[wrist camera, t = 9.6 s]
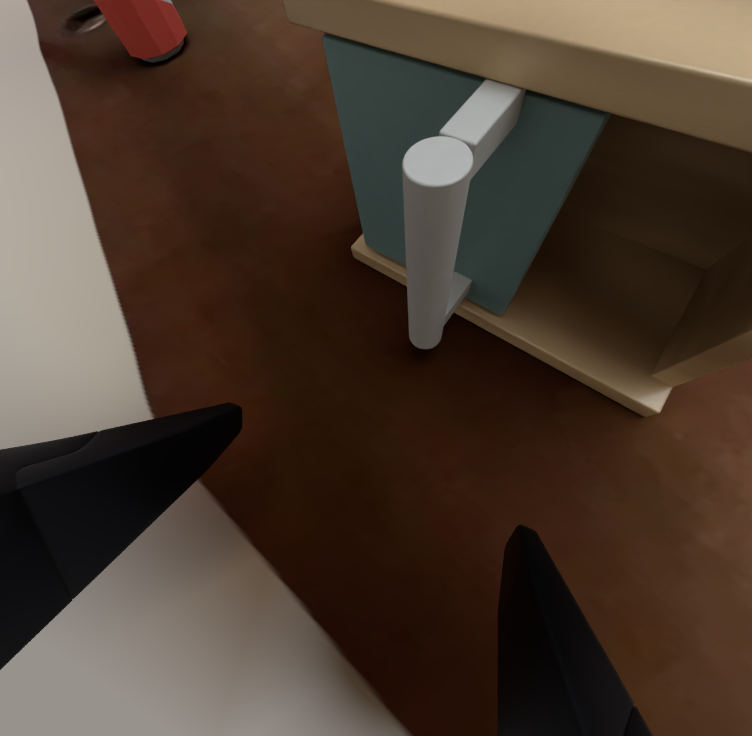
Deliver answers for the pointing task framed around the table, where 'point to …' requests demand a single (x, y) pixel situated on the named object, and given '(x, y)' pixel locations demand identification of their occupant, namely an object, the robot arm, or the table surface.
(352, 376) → the table surface
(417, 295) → the sliding door
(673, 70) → the cabinet
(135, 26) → the beverage can
